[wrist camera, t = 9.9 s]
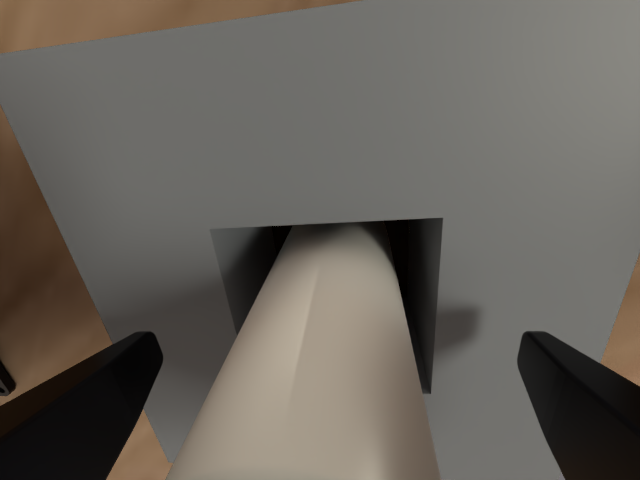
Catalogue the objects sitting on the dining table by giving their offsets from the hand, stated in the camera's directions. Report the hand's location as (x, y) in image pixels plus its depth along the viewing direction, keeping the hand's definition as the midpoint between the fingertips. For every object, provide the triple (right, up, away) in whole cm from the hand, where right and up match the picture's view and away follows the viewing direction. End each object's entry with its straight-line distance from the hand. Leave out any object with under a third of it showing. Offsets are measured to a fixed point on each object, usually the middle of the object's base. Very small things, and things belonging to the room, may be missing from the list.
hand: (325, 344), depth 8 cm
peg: (+1, +3, +5) cm, 6 cm away
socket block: (+1, +2, +5) cm, 6 cm away
